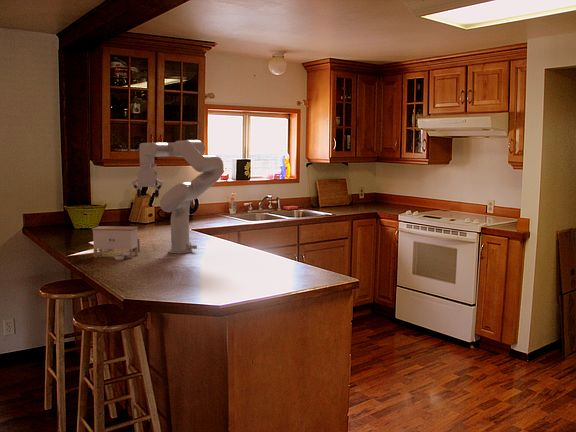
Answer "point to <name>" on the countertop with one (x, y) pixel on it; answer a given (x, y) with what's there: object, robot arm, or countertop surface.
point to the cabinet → (115, 239)
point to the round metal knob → (119, 257)
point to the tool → (133, 251)
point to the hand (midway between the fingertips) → (148, 197)
